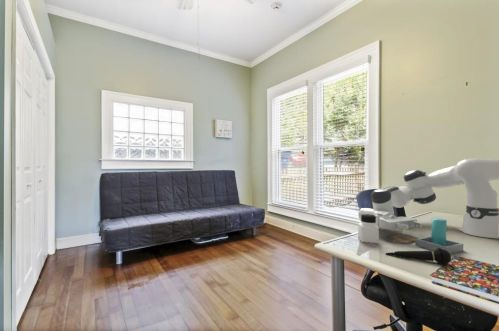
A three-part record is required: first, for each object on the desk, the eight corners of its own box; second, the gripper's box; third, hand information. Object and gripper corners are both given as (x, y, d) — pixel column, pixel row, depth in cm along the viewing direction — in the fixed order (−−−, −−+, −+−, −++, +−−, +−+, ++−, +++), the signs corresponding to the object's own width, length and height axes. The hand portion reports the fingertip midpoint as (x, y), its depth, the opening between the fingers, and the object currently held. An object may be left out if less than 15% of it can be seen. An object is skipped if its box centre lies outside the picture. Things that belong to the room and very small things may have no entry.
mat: (404, 236, 120) (404, 234, 120) (421, 240, 112) (421, 239, 112) (388, 239, 115) (388, 237, 115) (405, 244, 107) (405, 242, 107)
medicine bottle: (379, 243, 108) (379, 216, 108) (361, 242, 109) (362, 215, 109) (374, 238, 115) (374, 213, 115) (358, 237, 116) (358, 212, 116)
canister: (435, 245, 106) (435, 218, 106) (448, 249, 101) (449, 220, 101) (428, 247, 104) (428, 218, 104) (441, 250, 99) (442, 221, 99)
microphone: (387, 264, 92) (453, 269, 83) (385, 251, 91) (452, 254, 82) (386, 255, 97) (449, 259, 88) (384, 243, 96) (448, 244, 86)
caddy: (431, 242, 110) (431, 236, 110) (463, 250, 100) (463, 243, 100) (415, 245, 105) (415, 239, 105) (446, 254, 95) (446, 247, 95)
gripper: (400, 224, 128) (428, 231, 115) (373, 228, 120) (400, 235, 107) (400, 212, 128) (428, 217, 115) (373, 215, 120) (400, 221, 107)
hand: (415, 226), depth 111 cm, fingers open, 8 cm apart
